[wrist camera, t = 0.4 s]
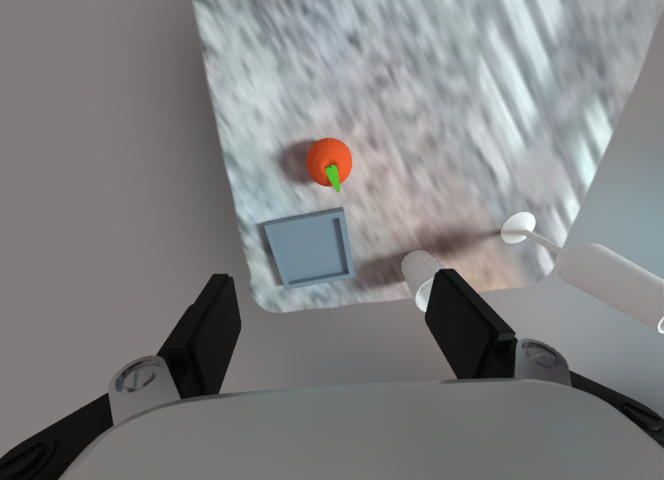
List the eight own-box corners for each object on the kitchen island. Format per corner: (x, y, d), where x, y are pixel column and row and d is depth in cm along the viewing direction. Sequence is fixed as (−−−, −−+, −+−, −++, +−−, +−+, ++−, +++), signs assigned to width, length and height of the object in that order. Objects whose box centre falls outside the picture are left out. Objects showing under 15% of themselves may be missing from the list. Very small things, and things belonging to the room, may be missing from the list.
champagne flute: (538, 232, 49) (713, 323, 27) (505, 249, 50) (647, 348, 29) (531, 205, 46) (721, 282, 25) (496, 223, 47) (647, 312, 26)
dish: (265, 221, 44) (263, 226, 42) (342, 207, 44) (343, 211, 42) (286, 283, 50) (285, 290, 49) (353, 271, 50) (354, 277, 48)
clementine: (356, 178, 42) (363, 189, 35) (317, 192, 42) (318, 205, 36) (341, 129, 38) (346, 132, 32) (299, 145, 39) (297, 151, 32)
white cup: (412, 285, 53) (432, 320, 44) (389, 264, 50) (406, 296, 41) (443, 263, 51) (470, 294, 42) (421, 239, 48) (445, 267, 39)
